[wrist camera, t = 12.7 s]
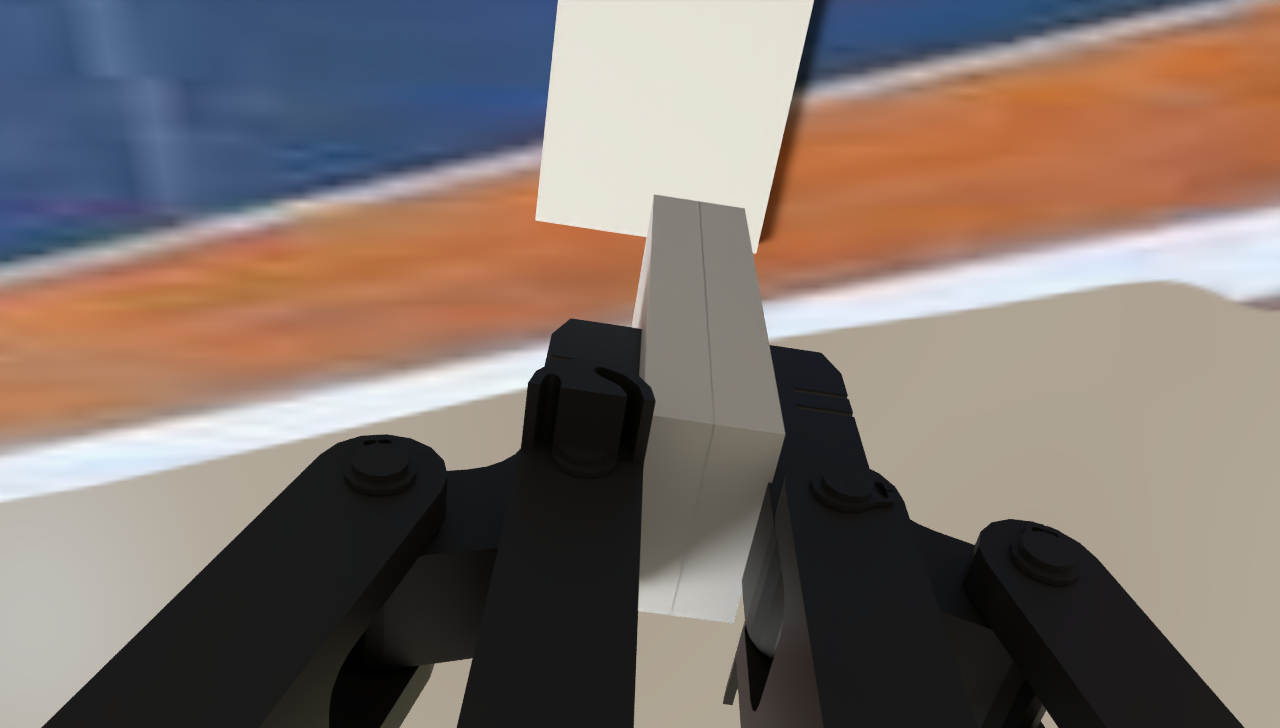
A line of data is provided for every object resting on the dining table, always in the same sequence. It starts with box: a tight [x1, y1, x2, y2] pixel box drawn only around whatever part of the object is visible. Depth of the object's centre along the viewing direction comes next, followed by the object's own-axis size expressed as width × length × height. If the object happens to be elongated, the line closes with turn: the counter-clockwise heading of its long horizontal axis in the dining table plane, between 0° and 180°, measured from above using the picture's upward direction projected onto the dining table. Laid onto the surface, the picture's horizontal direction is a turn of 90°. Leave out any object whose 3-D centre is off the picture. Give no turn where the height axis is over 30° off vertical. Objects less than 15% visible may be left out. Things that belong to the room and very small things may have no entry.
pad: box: [535, 0, 814, 253], centre depth 28 cm, size 7×10×1 cm
